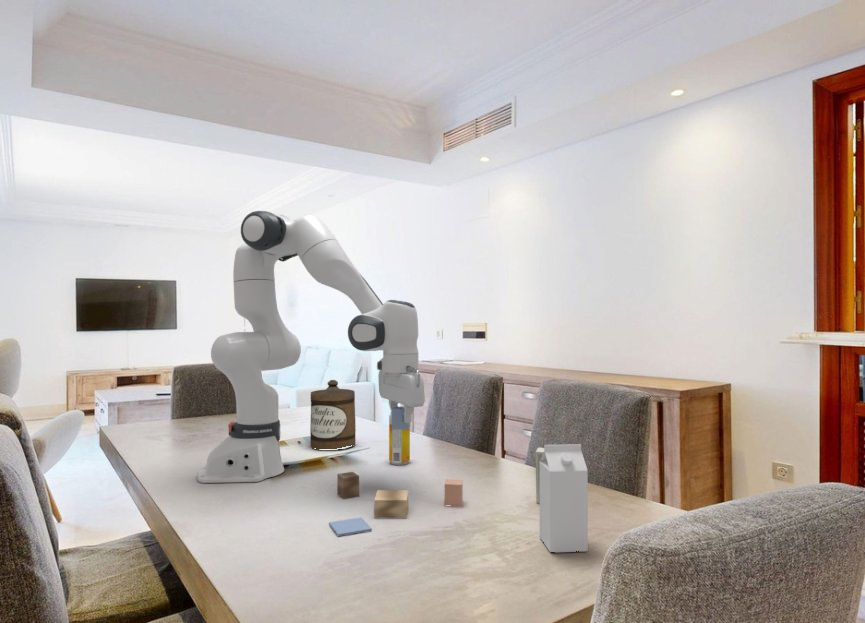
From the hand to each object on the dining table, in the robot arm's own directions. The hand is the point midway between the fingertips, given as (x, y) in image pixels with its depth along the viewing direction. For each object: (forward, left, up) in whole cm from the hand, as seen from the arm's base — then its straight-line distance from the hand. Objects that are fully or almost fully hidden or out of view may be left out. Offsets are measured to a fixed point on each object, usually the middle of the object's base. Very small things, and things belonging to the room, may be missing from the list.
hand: (401, 420), depth 140 cm
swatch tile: (-15, -22, -17) cm, 32 cm away
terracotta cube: (+10, -13, -17) cm, 24 cm away
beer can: (+5, +25, -18) cm, 31 cm away
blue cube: (0, 0, -2) cm, 2 cm away
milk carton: (+23, -41, -18) cm, 50 cm away
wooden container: (-12, +52, -18) cm, 56 cm away
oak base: (-5, -15, -18) cm, 24 cm away
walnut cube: (-13, -1, -17) cm, 22 cm away
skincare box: (+32, -18, -18) cm, 41 cm away
